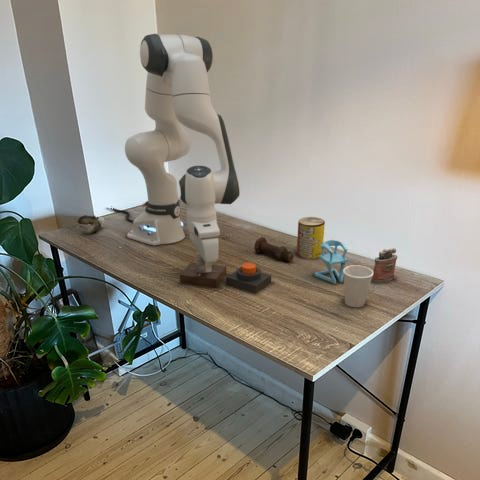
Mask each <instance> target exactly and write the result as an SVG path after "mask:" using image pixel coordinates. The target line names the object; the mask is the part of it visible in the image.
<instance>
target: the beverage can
mask: <svg viewBox="0 0 480 480" xmlns="http://www.w3.org/2000/svg"><path fill="white" fill-rule="evenodd" d="M325 224H326V220H325V219H323V218H321V217H317V216H304V217H301V218H299V219H298V223H297V238H296V256H298V257H299V258H302V259H306V260H315V259H320V258H319V255H321V254H322V249H321V244H323V243H324V237H325V236H324V235H325V226H326V225H325Z"/></svg>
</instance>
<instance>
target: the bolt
mask: <svg viewBox="0 0 480 480" xmlns="http://www.w3.org/2000/svg"><path fill="white" fill-rule="evenodd" d="M253 246H254V251H255V252H256V253H257V254H262V253H266V254H270V255H272V256H275V259H276V260H277V261H280V262H282V261H287V262H292V261H293V259H294V258H295V254H294V252H292V251H289V250H288V248H287V247H286V246H276V245H274V244H271V243H269V242H268V240H267V238H266V237H258V238H257V239H256V241H255V242H254V245H253Z"/></svg>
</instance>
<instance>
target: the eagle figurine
mask: <svg viewBox="0 0 480 480" xmlns="http://www.w3.org/2000/svg"><path fill="white" fill-rule="evenodd" d="M77 224H78V225H90V226H89V227H88V228H87V229H86V230H84V231H83V235H92V234H93V233H95V232H96V230H98V229H102V228H103V227H102V225H104V224H105V218H104V217H103V216H96V215H95V214H94V215H92V216H91V215H87V214H84V215H81V216H80V217H79V218H78V219H77Z"/></svg>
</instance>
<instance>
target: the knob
mask: <svg viewBox="0 0 480 480" xmlns="http://www.w3.org/2000/svg"><path fill="white" fill-rule="evenodd" d="M195 263H196V271H197V272H199V273H207V272H206V271H205V261H204V259H203V258H202V257H201V255H198V256H197V255H196V256H195Z"/></svg>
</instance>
